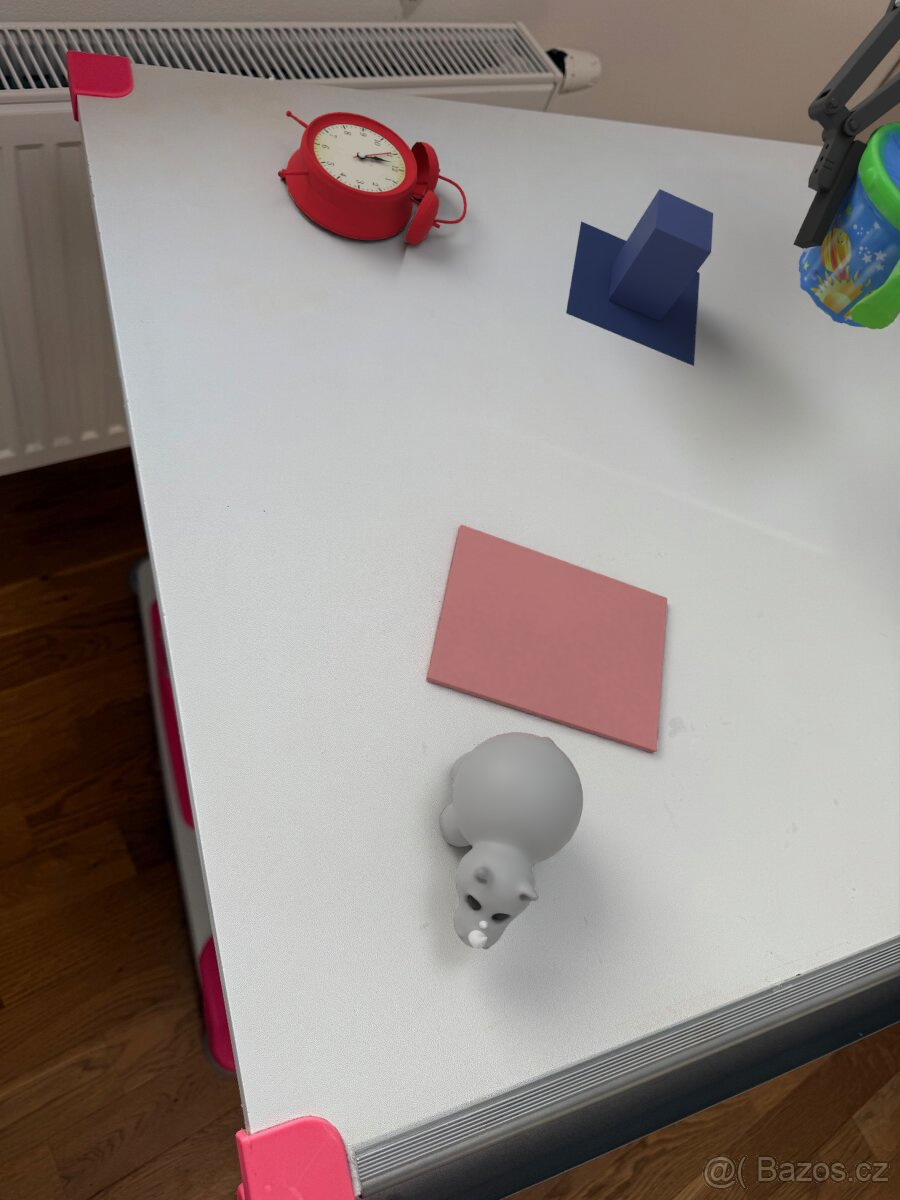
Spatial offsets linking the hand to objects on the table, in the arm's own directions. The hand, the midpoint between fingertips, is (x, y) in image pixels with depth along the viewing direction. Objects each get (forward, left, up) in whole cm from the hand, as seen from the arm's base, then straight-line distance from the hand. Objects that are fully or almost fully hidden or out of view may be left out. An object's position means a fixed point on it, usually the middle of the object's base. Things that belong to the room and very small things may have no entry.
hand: (878, 278), depth 65 cm
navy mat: (+10, -12, -18) cm, 24 cm away
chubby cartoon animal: (+16, +40, -18) cm, 47 cm away
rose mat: (+13, +24, -18) cm, 33 cm away
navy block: (+10, -12, -18) cm, 23 cm away
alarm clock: (+34, -10, -18) cm, 40 cm away
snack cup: (0, -3, -4) cm, 5 cm away
